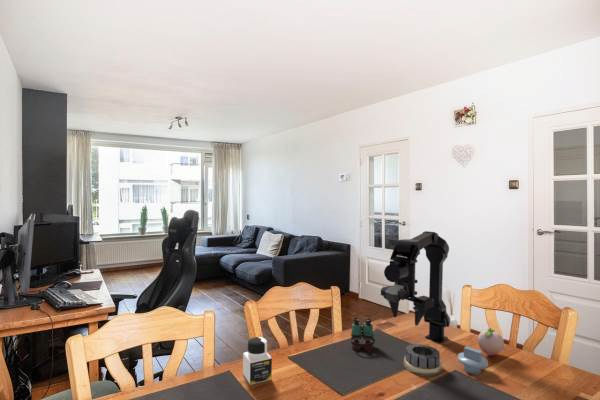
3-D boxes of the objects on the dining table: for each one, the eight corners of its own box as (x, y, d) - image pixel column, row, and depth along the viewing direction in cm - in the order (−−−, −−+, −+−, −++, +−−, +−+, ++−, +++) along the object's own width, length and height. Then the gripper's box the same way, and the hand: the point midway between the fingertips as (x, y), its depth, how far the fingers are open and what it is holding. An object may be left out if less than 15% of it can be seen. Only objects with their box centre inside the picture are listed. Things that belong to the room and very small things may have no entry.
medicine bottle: (250, 385, 106) (250, 346, 106) (242, 374, 112) (243, 337, 112) (271, 379, 109) (272, 341, 109) (263, 369, 116) (263, 333, 115)
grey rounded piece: (452, 369, 117) (453, 348, 117) (464, 361, 123) (464, 341, 123) (481, 380, 111) (481, 358, 110) (491, 371, 117) (492, 350, 117)
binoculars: (351, 327, 127) (350, 315, 137) (351, 355, 128) (350, 340, 138) (376, 329, 126) (373, 316, 136) (376, 356, 127) (373, 341, 137)
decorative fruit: (503, 363, 122) (504, 335, 121) (477, 357, 126) (477, 330, 125) (503, 353, 130) (504, 326, 130) (478, 347, 134) (479, 322, 134)
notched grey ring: (415, 355, 127) (415, 340, 127) (447, 368, 118) (448, 352, 118) (396, 366, 119) (397, 350, 119) (430, 380, 110) (430, 363, 110)
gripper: (370, 274, 125) (369, 317, 125) (413, 286, 109) (412, 336, 110) (391, 270, 131) (390, 311, 132) (435, 281, 116) (434, 328, 116)
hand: (405, 321), depth 122 cm, fingers open, 9 cm apart
